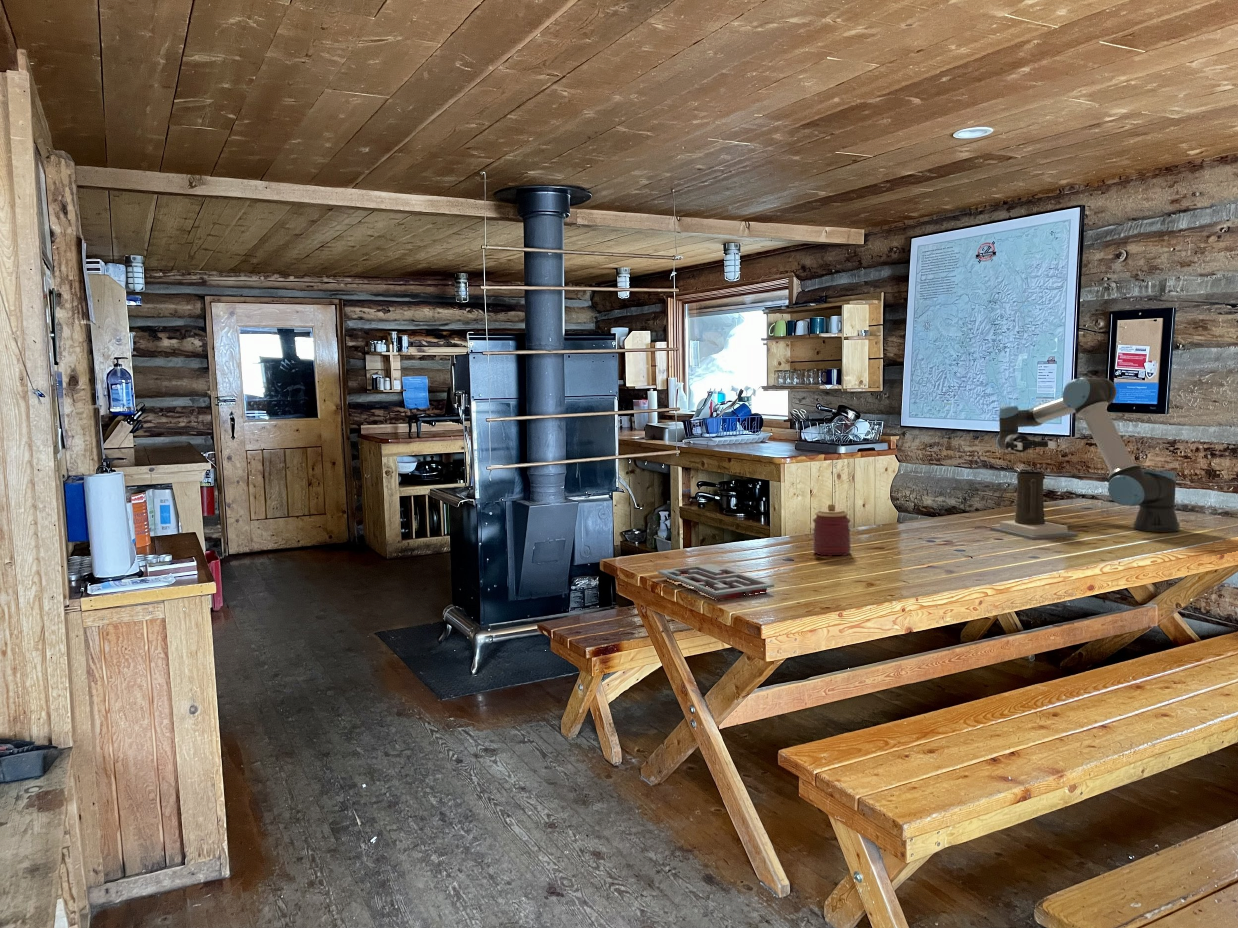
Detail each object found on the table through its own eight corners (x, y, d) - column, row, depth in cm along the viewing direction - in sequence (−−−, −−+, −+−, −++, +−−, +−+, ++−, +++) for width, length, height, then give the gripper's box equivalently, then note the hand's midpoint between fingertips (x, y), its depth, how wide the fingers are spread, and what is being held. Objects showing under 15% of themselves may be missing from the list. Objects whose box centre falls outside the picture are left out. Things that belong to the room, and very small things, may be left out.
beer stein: (1010, 520, 350) (1012, 470, 347) (1039, 519, 349) (1041, 470, 346) (1022, 529, 336) (1024, 477, 332) (1052, 529, 334) (1054, 477, 331)
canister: (821, 548, 322) (821, 500, 320) (856, 551, 315) (856, 502, 313) (807, 554, 312) (806, 505, 310) (842, 558, 304) (842, 507, 302)
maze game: (774, 595, 256) (774, 584, 256) (716, 603, 248) (716, 592, 248) (711, 573, 288) (711, 563, 288) (658, 580, 280) (657, 570, 279)
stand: (1033, 526, 356) (1033, 517, 355) (1077, 535, 332) (1078, 526, 332) (990, 529, 351) (990, 520, 350) (1032, 539, 327) (1032, 530, 327)
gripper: (1047, 451, 377) (1070, 454, 356) (987, 452, 378) (1007, 456, 357) (1047, 433, 376) (1070, 435, 355) (987, 435, 377) (1007, 437, 356)
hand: (1038, 445), depth 356 cm, fingers open, 13 cm apart
